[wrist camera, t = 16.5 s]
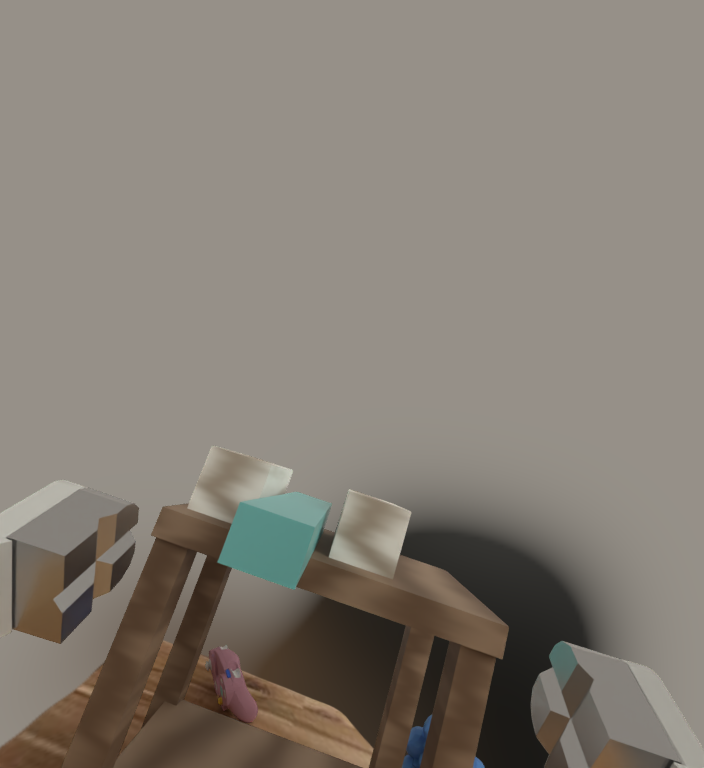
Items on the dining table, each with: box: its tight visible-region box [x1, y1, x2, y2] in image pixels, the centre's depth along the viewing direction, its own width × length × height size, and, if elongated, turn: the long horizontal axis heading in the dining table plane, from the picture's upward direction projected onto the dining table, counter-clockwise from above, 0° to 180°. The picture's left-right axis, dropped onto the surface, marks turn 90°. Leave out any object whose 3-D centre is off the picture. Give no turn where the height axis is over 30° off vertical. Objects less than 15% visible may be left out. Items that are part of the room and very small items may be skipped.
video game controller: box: [205, 645, 258, 723], centre depth 54 cm, size 10×5×7 cm, turn 33°
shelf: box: [61, 446, 509, 768], centre depth 34 cm, size 25×18×31 cm
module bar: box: [217, 492, 332, 589], centre depth 32 cm, size 4×24×3 cm, turn 0°
